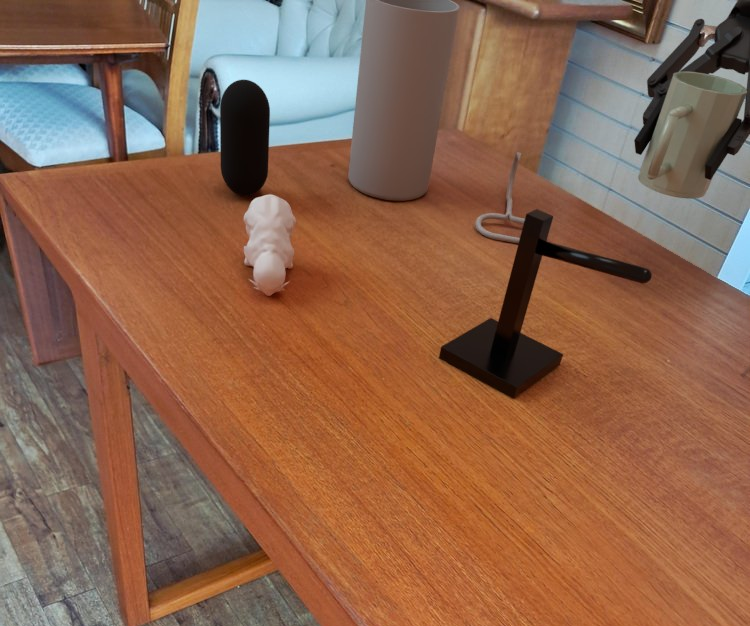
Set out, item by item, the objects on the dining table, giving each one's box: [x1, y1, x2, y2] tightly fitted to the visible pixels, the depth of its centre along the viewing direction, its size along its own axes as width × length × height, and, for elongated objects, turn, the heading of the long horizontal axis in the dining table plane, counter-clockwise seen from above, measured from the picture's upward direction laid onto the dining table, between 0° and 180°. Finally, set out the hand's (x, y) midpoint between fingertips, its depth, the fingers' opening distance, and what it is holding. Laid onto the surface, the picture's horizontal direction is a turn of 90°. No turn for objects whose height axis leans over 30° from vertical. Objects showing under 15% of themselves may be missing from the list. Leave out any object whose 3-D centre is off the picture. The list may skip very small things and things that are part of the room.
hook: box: [474, 151, 525, 245], centre depth 118 cm, size 7×9×20 cm
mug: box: [637, 71, 747, 200], centre depth 95 cm, size 13×9×12 cm, turn 140°
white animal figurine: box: [243, 193, 297, 297], centre depth 93 cm, size 6×8×12 cm
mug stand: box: [438, 208, 653, 399], centre depth 81 cm, size 18×10×17 cm, turn 50°
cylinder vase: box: [347, 0, 460, 202], centre depth 114 cm, size 12×12×25 cm
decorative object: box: [219, 79, 271, 197], centre depth 108 cm, size 7×7×15 cm
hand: (672, 159), depth 96 cm, fingers closed on mug, 9 cm apart
